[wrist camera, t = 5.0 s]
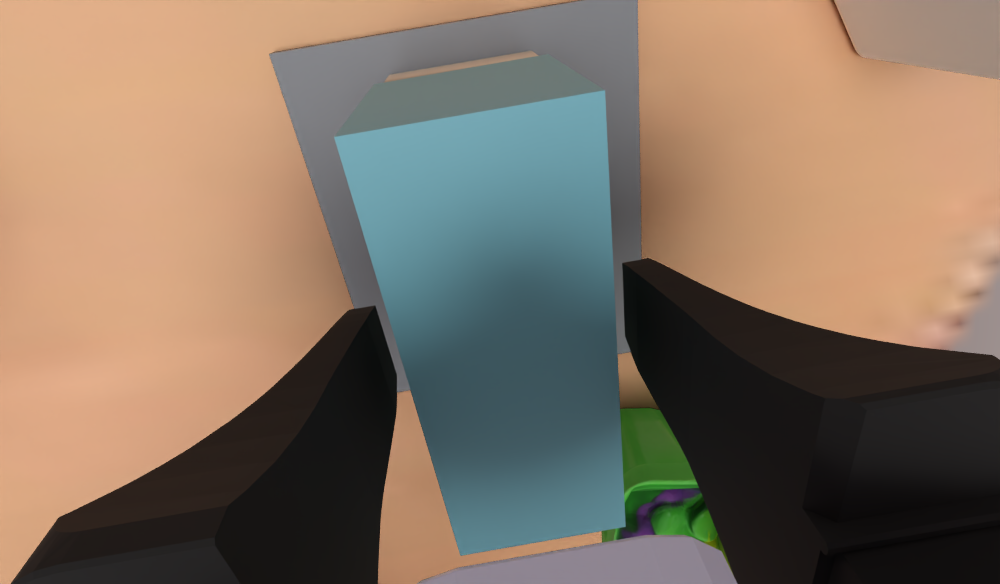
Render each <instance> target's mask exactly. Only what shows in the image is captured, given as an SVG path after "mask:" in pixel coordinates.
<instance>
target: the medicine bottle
mask: <svg viewBox="0 0 1000 584" xmlns="http://www.w3.org/2000/svg"><path fill="white" fill-rule="evenodd" d="M834 2H835V4H836V6H837V9H838V11H839V13H840V16H841V18H842V20H843V23H844V25H845V27H846V30H847V32H848V34H849V37H850V39H851V41H852V44H853V46H854V48H855V51H856V52H857V53H858V54H859V55H860V56H861V57H863V58H870V59H876V60H882V61H888V62H894V63H900V64H907V65H913V66H919V67H925V68H931V69H937V70H943V71H950V72H956V73H962V74H968V75H974V76H980V77H986V78H993V79H999V80H1000V0H834Z"/></svg>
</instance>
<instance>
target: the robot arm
mask: <svg viewBox="0 0 1000 584" xmlns="http://www.w3.org/2000/svg"><path fill="white" fill-rule="evenodd" d="M622 271H623V299H624V327H625V337H626V340H627V343H628V346H629V348H630V351H631V354H632V356H633V359H634V361H635V364H636V366H637V369H638V371H639V373H640V375H641V377H642V379H643V380H644V382H645V384H646V386H647V388H648V389H649V391H650V393H651V395H652V397H653V398H654V400H655V402H656V404H657V406H658V407H659V409H660V411H661V413H662V414H663V416H664V418H665V420H666V422H667V423H668V425H669V427H670V429H671V430H672V432H673V434H674V436H675V438H676V439H677V441H678V443H679V445H680V447H681V449H682V451H683V453H684V455H685V457H686V459H687V461H688V463H689V465H690V468H691V470H692V473H693V475H694V477H695V480H696V482H697V484H698V487H699V489H700V491H701V494H702V496H703V499H704V501H705V503H706V506H707V508H708V511H709V513H710V516H711V518H712V521H713V523H714V526H715V528H716V531H717V533H718V536H719V538H720V541H721V543H722V546H723V549H724V551H725V554H726V557H727V559H728V562H729V565H730V567H731V570H732V572H731V570H730V568H729V565H728V563H727V561H726V559H725V557H724V555H723V553H722V551H720V550H718V549H716V548H713V547H711V546H709V545H707V544H705V543H703V542H701V541H699V540H697V539H695V538H693V537H689V536H686V535H643V536H637V537H631V538H626V539H620V540H614V541H608V542H603V543H597V544H591V545H585V546H580V547H574V548H568V549H562V550H557V551H551V552H545V553H540V554H534V555H528V556H522V557H517V558H511V559H505V560H499V561H494V562H488V563H482V564H476V565H471V566H465V567H459V568H456V569H453V570H450V571H447V572H444V573H441V574H439V575H436V576H433V577H430V578H427V579H424V580H422V581H420V582H419V583H417V584H1000V360H999V359H998V358H996V357H995V356H993V355H986V354H985V355H984V354H976V353H966V352H957V351H948V350H939V349H929V348H920V347H913V346H907V345H901V344H895V343H889V342H883V341H877V340H871V339H866V338H861V337H856V336H851V335H847V334H843V333H838V332H834V331H830V330H826V329H822V328H818V327H814V326H810V325H807V324H803V323H800V322H796V321H793V320H790V319H787V318H784V317H781V316H778V315H775V314H772V313H768V312H766V311H763V310H760V309H757V308H755V307H752V306H750V305H747V304H745V303H742V302H740V301H738V300H735V299H733V298H730V297H728V296H726V295H724V294H721V293H719V292H717V291H715V290H713V289H711V288H708V287H706V286H704V285H702V284H700V283H698V282H696V281H694V280H692V279H690V278H688V277H686V276H684V275H682V274H680V273H678V272H676V271H674V270H672V269H671V268H669V267H667V266H665V265H663V264H660V263H658V262H656V261H654V260H652V259H649V258H647V259H641V260H636V261H630V262H624V263H622ZM396 408H397V373H396V370H395V367H394V364H393V361H392V357H391V354H390V351H389V348H388V344H387V341H386V338H385V335H384V332H383V328H382V325H381V322H380V319H379V316H378V312H377V309H376V306H375V305H374V306H369V307H363V308H357V309H351V310H349V311H347V312H346V313H345V314H344V315H343V316H342V317H341V318H340V319H339V320H338V321H337V322H336V323H335V324H334V326H333V327H332V328H331V329H330V330H329V331H328V332H327V333H326V334H325V335H324V336H323V337H322V338H321V339H320V341H319V342H318V343H317V344H316V345H315V346H314V347H313V348H312V349H311V350H310V351H309V352H308V353H307V354H306V355H305V356H304V357H303V358H302V359H301V360H300V361H299V362H298V363H297V364H296V365H295V366H294V367H293V368H292V369H291V370H290V371H289V372H288V373H287V374H286V375H285V376H284V377H282V378H281V379H280V380H279V381H278V382H277V383H276V384H275V385H274V386H273V387H272V388H271V389H270V390H268V391H267V392H266V393H265V394H264V395H263V396H261V397H260V398H259V399H258V400H257V401H255V402H254V403H253V404H251V405H250V406H249V407H248V408H246V409H245V410H244V411H243V412H241V413H240V414H239V415H237V416H236V417H235V418H233V419H232V420H231V421H229V422H228V423H226V424H225V425H223V426H222V427H221V428H219V429H218V430H216V431H215V432H213V433H212V434H210V435H209V436H207V437H206V438H204V439H203V440H201V441H200V442H198V443H197V444H196V445H194V446H193V447H191V448H189V449H188V450H186V451H185V452H183V453H181V454H180V455H178V456H176V457H175V458H173V459H171V460H170V461H168V462H166V463H165V464H163V465H161V466H159V467H158V468H156V469H154V470H152V471H150V472H149V473H147V474H145V475H143V476H142V477H140V478H138V479H136V480H134V481H132V482H130V483H129V484H127V485H125V486H123V487H121V488H119V489H117V490H115V491H113V492H111V493H109V494H107V495H105V496H103V497H100V498H98V499H96V500H94V501H92V502H90V503H88V504H86V505H84V506H82V507H80V508H78V509H76V510H74V511H72V512H70V513H68V514H65V515H63V516H61V517H59V518H58V519H57V521H56V522H55V524H54V525H53V526H52V528H51V529H50V530H49V532H48V533H47V535H46V536H45V537H44V539H43V540H42V541H41V543H40V544H39V546H38V547H37V548H36V550H35V551H34V552H33V554H32V555H31V557H30V558H29V559H28V561H27V562H26V563H25V565H24V566H23V568H22V569H21V570H20V572H19V573H18V574H17V576H16V577H15V579H14V580H13V581H12V583H11V584H378V558H379V538H380V519H381V508H382V499H383V492H384V486H385V480H386V474H387V468H388V462H389V456H390V450H391V444H392V437H393V431H394V425H395V418H396ZM732 573H733V574H732ZM733 575H734V576H733Z"/></svg>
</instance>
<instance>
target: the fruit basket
mask: <svg viewBox="0 0 1000 584" xmlns="http://www.w3.org/2000/svg"><path fill="white" fill-rule="evenodd" d="M620 418H621V440H622V461H623V482H624V503H625V525H626V527H621V528H616V529H610V530H604V531H602V543H603V542H608V541H614V540H620V539H626V538H631V537H637V536H643V535H686V536H689V537H693V538H695V539H697V540H699V541H701V542H703V543H705V544H707V545H709V546H711V547H713V548H716V549H718V550H720V551H722V553H723V555H724V557H725V559H726V561H727V563H728V565H729V562H728V559H727V557H726V554H725V551H724V549H723V546H722V543H721V541H720V538H719V536H718V533H717V531H716V528H715V526H714V523H713V521H712V518H711V516H710V513H709V511H708V508H707V506H706V503H705V501H704V499H703V496H702V494H701V491H700V489H699V487H698V484H697V482H696V480H695V477H694V475H693V473H692V470H691V468H690V465H689V463H688V461H687V459H686V457H685V455H684V453H683V451H682V449H681V447H680V445H679V443H678V441H677V439H676V438H675V436H674V434H673V432H672V430H671V429H670V427H669V425H668V423H667V422H666V420H665V418H664V416H663V414H662V413H661V411H660V410H657V409H652V408H624V409H620ZM729 568H730V570H731V567H730V565H729ZM731 572H732V570H731ZM732 574H733V573H732ZM733 576H734V575H733Z"/></svg>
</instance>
